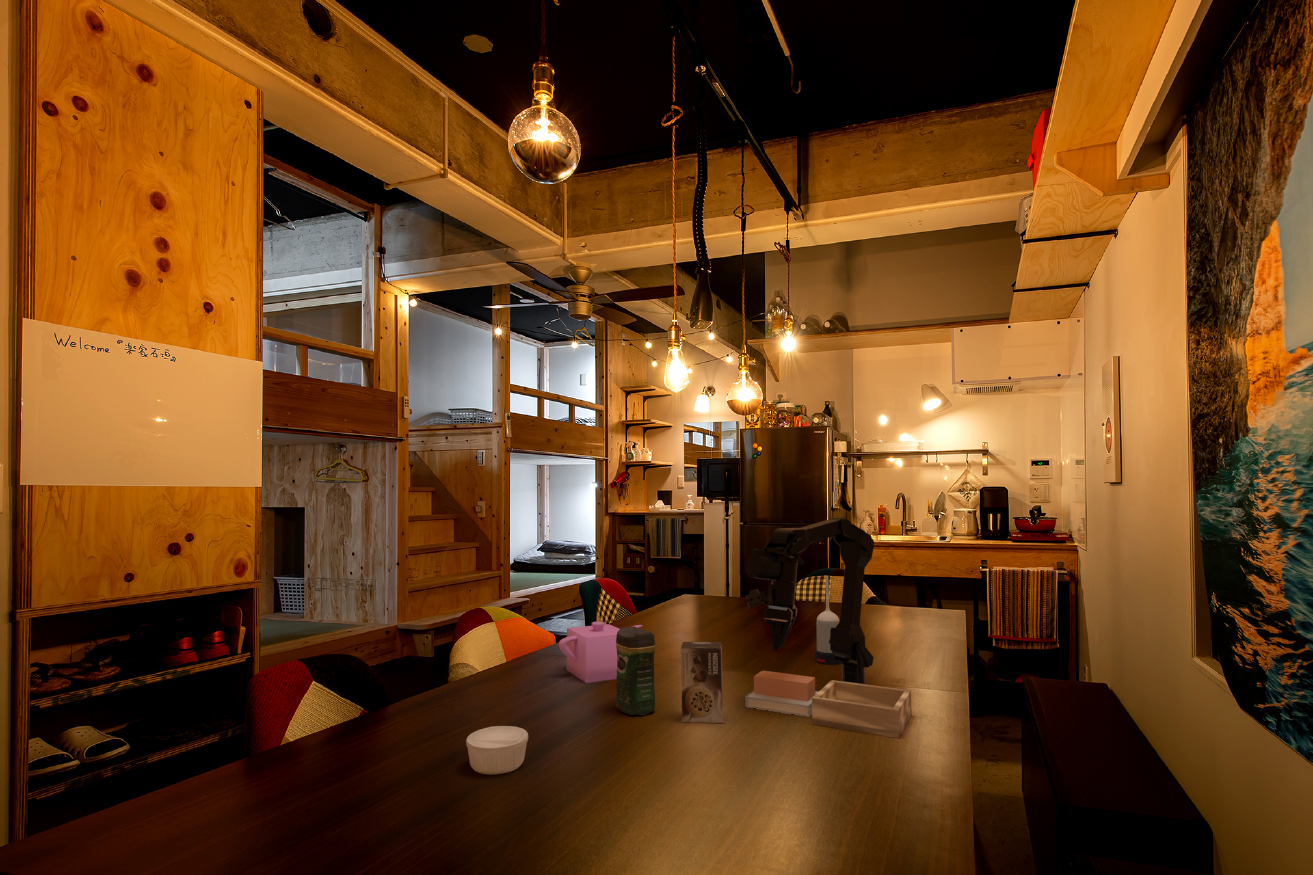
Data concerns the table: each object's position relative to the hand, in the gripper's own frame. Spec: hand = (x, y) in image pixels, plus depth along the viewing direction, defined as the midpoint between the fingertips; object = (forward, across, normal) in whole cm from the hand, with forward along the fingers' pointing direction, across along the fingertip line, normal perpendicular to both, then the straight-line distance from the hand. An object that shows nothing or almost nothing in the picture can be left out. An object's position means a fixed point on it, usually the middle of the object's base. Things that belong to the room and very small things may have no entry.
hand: (777, 648), depth 164 cm
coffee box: (+16, +12, -14) cm, 25 cm away
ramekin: (+23, +47, -45) cm, 69 cm away
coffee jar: (+18, +10, -30) cm, 36 cm away
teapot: (+16, -19, -49) cm, 55 cm away
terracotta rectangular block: (+10, -2, +2) cm, 11 cm away
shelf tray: (+12, +4, +20) cm, 24 cm away
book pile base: (+13, -3, +2) cm, 13 cm away
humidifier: (+7, -48, +11) cm, 50 cm away
